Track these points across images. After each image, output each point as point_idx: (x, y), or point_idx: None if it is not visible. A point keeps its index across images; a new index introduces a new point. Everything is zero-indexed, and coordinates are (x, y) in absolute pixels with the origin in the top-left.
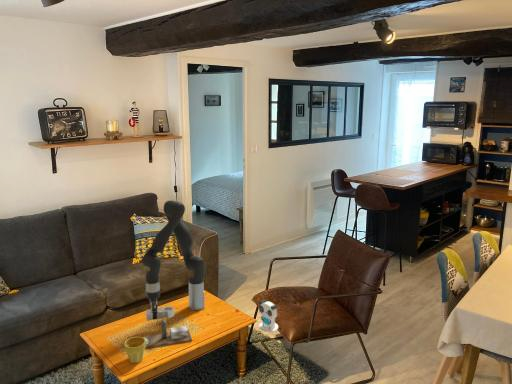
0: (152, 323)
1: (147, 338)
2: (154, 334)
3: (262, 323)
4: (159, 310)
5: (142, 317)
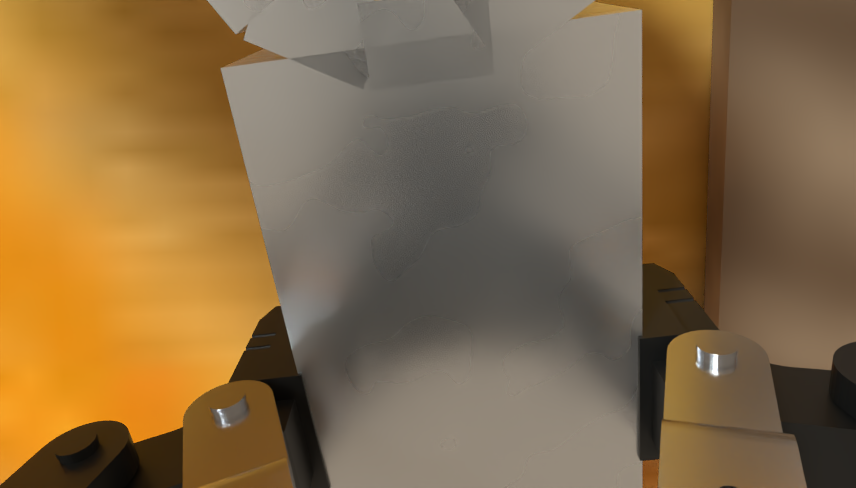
0: (248, 237)
1: (826, 313)
2: (732, 204)
3: None
4: (482, 236)
5: (42, 392)
